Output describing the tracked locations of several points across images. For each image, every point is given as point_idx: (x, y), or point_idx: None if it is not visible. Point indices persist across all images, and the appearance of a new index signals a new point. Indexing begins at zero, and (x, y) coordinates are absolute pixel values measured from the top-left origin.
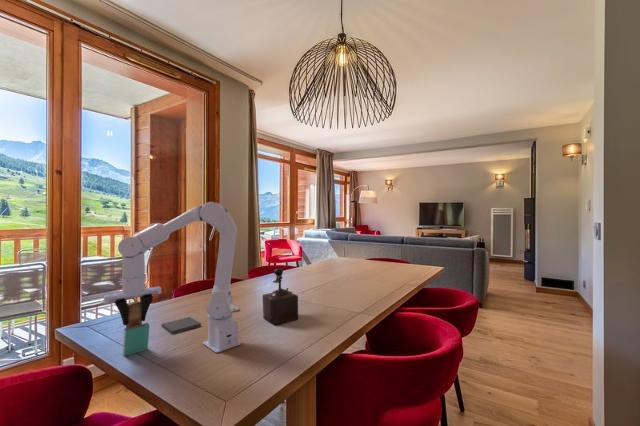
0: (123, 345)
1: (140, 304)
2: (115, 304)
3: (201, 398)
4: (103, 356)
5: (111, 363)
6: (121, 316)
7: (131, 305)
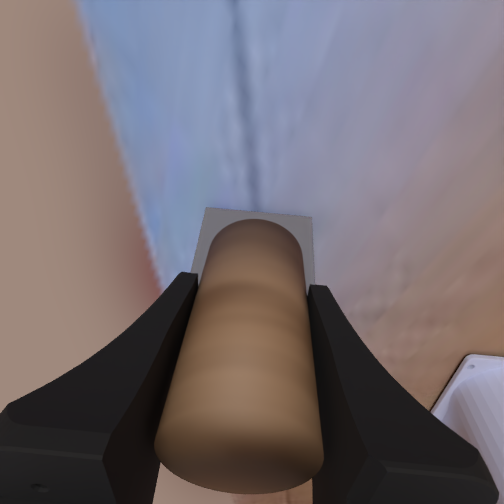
0: (198, 242)
1: (286, 478)
2: (31, 394)
3: (267, 494)
4: (129, 149)
5: (153, 252)
6: (152, 309)
7: (197, 484)
